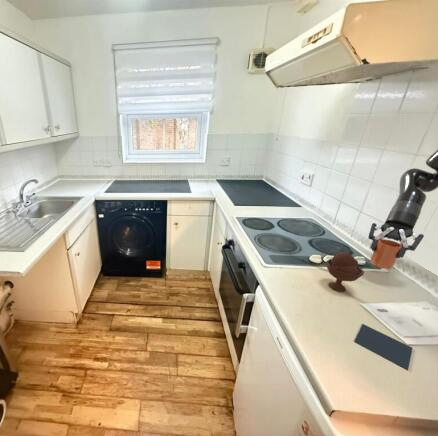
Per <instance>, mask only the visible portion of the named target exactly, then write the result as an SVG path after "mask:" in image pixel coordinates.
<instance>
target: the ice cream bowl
mask: <svg viewBox="0 0 438 436" xmlns="http://www.w3.org/2000/svg"><path fill="white" fill-rule="evenodd" d="M325 265H326V268H327V271H328V273H329V274H330V276H332V277H333V278H334V279H336V280H335V281H330V282H329V283H327V285H328V288H330V289H331V290H333V291H335V292H338V293H345V292H346V291H347V289H346V286H345V285H343V284H342V283H343V282H354V281H357V280H359V279H360V278H361V277H363V275H364V274H365V271H364V270H363V268H362V267H361V266H359V261H358V260H357V259H356V258H355V257H354V256H352V254H350V253H348V252H338V253H335V255H333V257H332V258H330V259H328V260H327V259H326V261H325Z"/></svg>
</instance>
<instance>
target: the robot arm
mask: <svg viewBox="0 0 438 436" xmlns="http://www.w3.org/2000/svg"><path fill="white" fill-rule="evenodd" d="M425 165H426V166H427V167H429V168H430V169H433V170H434V172H429V171H427V170H423V169H420V168H417V167H416V168H413V167H412V168H409V169H408V170H405V171H404V172H403V173H402V174H401V176H400V179H399V193H398V196H397V199H396V200H395V203H394V204H393V205H392V207H391V209H390V211H389V213H388V215H387V218H386V219H385V221H384V223H383V224H381V225H380V224H377V223H376V222H373V223H372V224H371V227H370V229H369V233H368V240H371V241H372V242H371V244H370V249H371V251H373V252H374V250H375V248H376V245H377V243H378V240H380V239H387V240H393V241H395V242H398V243H399V244H401V245H402V248H401V250H400V252H399V254H398V256H397V259H402V258H404V257H405V255H406V252H407V251H411V252H415V250H416V249H417V247H418V246H419V245H420V243H421V242H422V240H423V239H424V237H425V235H424V234H423V233H420V234H419V233H414V231H413V230H414V228H415V226H416V224H417V221H418V220H419V217H420V215H421V212H422V209H423V206H424V204H425V202H426V200H427V195H426V193H430V192H433V191H435V190H437V189H438V148H437V149H436V150H435V151H434V152H433V153H432V154H430V156H429V157H428V158H427V159H426V160H425ZM379 229H380V230H381V232H380V233H379V234H378V235H377V236H375V232H376V231H378V230H379ZM410 237H412V239H413V240H414V241H413V243H411V244H408V240H407V239H409V238H410Z"/></svg>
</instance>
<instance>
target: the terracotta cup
mask: <svg viewBox="0 0 438 436" xmlns="http://www.w3.org/2000/svg"><path fill="white" fill-rule="evenodd" d="M401 248H402V245H401V244H400V242H398V241H395V240H392V239H386V238H384V239H380V240H378V243H377V245H376V248H375V250H374V251H373V252H372V255H371V257H370V261H369V262H370V264H371V265H373V266H375V267H377V268H380V269H384V270H391V269H393V267H394V266H395V263H396V260H397V259H398V258H397V256H398V254H399V252H400V250H401Z"/></svg>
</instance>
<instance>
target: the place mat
mask: <svg viewBox="0 0 438 436" xmlns="http://www.w3.org/2000/svg"><path fill="white" fill-rule="evenodd" d="M353 342H354V343H356V344H357V345H360V346H361V347H363V348H364V349H367V350H369V351H370V352H373V354H376V355H378V356H380V357H382V358H384V359H385V360H387V361H388V362H389V361H390V362H391V363H393V364H395V365H397V366H399V367H401V368H403V369H405V370H406V371H408V370H409V367H410V363H411V357H412V353H413V347H412V346H410V345H408V344H406V343H403V342H401V341H400V340H397V339H396V338H393V337H392V336H389V335H388V334H385V333H383V332H381V331H379V330H376V329H375V328H373V327H370V326H369V325H366V324H364V323H362V324H361V326H360V328H359V330H358V332H357V334H356V337H355V338H354V340H353Z"/></svg>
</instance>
